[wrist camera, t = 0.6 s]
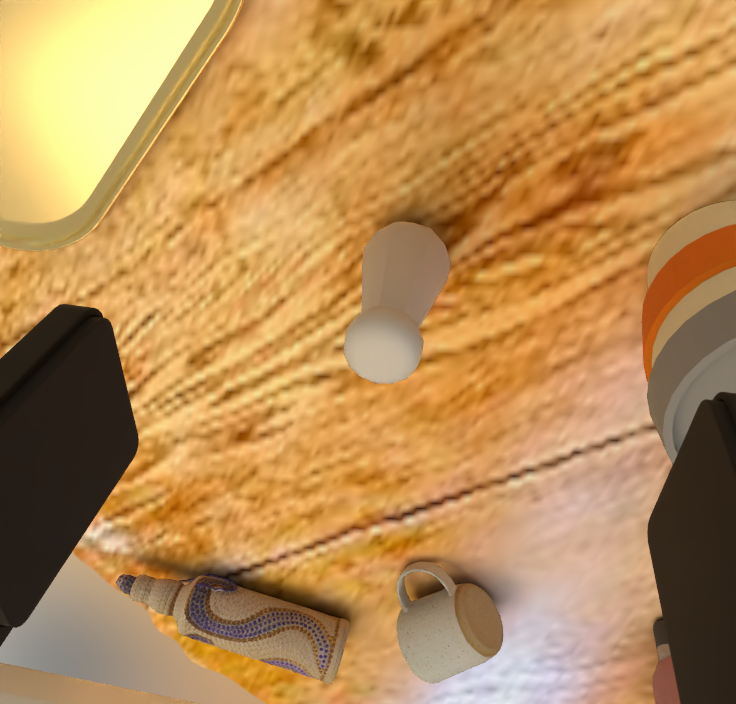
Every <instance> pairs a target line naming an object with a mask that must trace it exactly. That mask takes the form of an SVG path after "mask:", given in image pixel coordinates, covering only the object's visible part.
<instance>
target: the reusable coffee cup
mask: <svg viewBox="0 0 736 704" xmlns="http://www.w3.org/2000/svg"><path fill="white" fill-rule="evenodd" d="M647 286H648V291H647V294H646V298H645V301H644V304H643V313H642V335H643V361H644V368H645V373H646V379H647V381H648V393H647V399H648V405H649V410H650V415H651V417H652V420H653V422H654V424H655V427H656V429H657V431H658V433H659V436H660V438H661V440H662V443H663V445H664V447H665V449H666V452H667V454H668V456H669V458H670V460H671V462H672V464H674V461H675V459H676V457H677V454H678V452H679V450H680V448H681V445H682V443H683V441H684V438H685V436H686V434H687V432H688V429H689V427H690V425H691V422H692V420H693V418H694V416H695V413H696V411H697V409H698V406H699V405H700V403H701V402H702V401H703V400H705V399H708V400H713V399H714V397H715V396H716V395H717V394H718V393H719V392H729V393H736V200H734V201H723V202H719V203H715V204H711V205H707V206H705V207H703V208H700V209H698V210H695V211H693V212H691V213H690V214H688V215H686V216H685V217H683V218H681V219H680V220H679V221H677V222H676V223H675V224H674V225H673V226H671V227H670V228H669V229H668V230H667V231H666V232H665V234H664V235H663V236H662V237H661V238H660V240H659V241H658V242H657V244H656V246H655V248H654V250H653V251H652V254H651V257H650V260H649V263H648V270H647Z"/></svg>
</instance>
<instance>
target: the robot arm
mask: <svg viewBox="0 0 736 704" xmlns="http://www.w3.org/2000/svg"><path fill="white" fill-rule="evenodd" d="M138 441H139V439H138V433H137V429H136V424H135V420H134V416H133V412H132V408H131V403H130V399H129V395H128V391H127V387H126V382H125V378H124V374H123V370H122V366H121V361H120V357H119V353H118V349H117V345H116V341H115V336H114V332H113V328H112V325H111V322H110V321H109V320H108V319H106V318H103V316H102V313H101V312H100V311H99V310H98V309H95V308H90V307H83V306H75V305H68V304H62V305H59V306H57V307H56V308H54V309H53V310H52V311H51V312H50V313H49V314H48V315H47V316H46V317H45V318H44V319H43V320H42V321H41V322H39V323H38V324H37V325H36V326H35V327H34V328H33V329H32V330H31V331H30V332H29V333H28V334H27V335H26V336H24V337H23V338H22V339H21V340H20V341H19V342H18V343H17V344H16V345H15V346H14V347H13V348H12V349H11V350H9V351H8V352H7V353H6V354H5V355H4V356H3V357H2V358H1V359H0V646H1V645H2V643H3V642H4V640H5V639H6V637H7V636H8V634H9V633H10V631H11V630H12V628H13V627H15V628H17V627H19V626H21V625H22V624H23V623H24V622H25V621H26V620H27V619H28V617H29V616H30V615H31V613H32V612H33V610H34V609H35V607H36V606H37V604H38V603H39V601H40V599H41V598H42V597H43V595H44V594H45V592H46V590H47V589H48V587H49V586H50V584H51V583H52V581H53V580H54V578H55V577H56V575H57V574H58V572H59V571H60V569H61V568H62V566H63V565H64V563H65V562H66V560H67V559H68V557H69V556H70V554H71V553H72V551H73V549H74V548H75V546H76V545H77V543H78V542H79V540H80V539H81V537H82V536H83V534H84V533H85V531H86V530H87V528H88V527H89V525H90V524H91V522H92V521H93V519H94V518H95V516H96V515H97V513H98V512H99V510H100V508H101V507H102V505H103V504H104V502H105V501H106V499H107V498H108V496H109V495H110V493H111V492H112V490H113V489H114V487H115V486H116V484H117V483H118V481H119V480H120V478H121V477H122V475H123V474H124V472H125V471H126V469H127V467H128V466H129V464H130V463H131V461H132V460H133V458H134V456H135V455H136V452H137V448H138ZM648 544H649V549H650V554H651V559H652V564H653V569H654V574H655V579H656V584H657V589H658V594H659V599H660V604H661V609H662V614H663V619H664V624H665V629H666V634H667V639H668V644H669V649H670V654H671V659H672V664H673V669H674V674H675V679H676V684H677V689H678V694H679V699H680V704H736V393H729V392H719V393H718V394H717V395H716V396H715V397H714V399H713V400H708V399H705V400H703V401H702V402H701V403H700V405H699V406H698V409H697V411H696V413H695V416H694V418H693V420H692V422H691V425H690V427H689V429H688V432H687V434H686V436H685V438H684V441H683V443H682V445H681V448H680V450H679V452H678V454H677V457H676V459H675V461H674V464H673V466H672V468H671V470H670V473H669V475H668V477H667V480H666V482H665V484H664V486H663V489H662V491H661V493H660V496H659V498H658V500H657V502H656V505H655V507H654V509H653V512H652V514H651V516H650V519H649V523H648ZM0 704H198V703H193V702H188V701H184V700H179V699H175V698H170V697H164V696H160V695H155V694H150V693H145V692H141V691H135V690H131V689H126V688H121V687H116V686H111V685H107V684H102V683H97V682H92V681H87V680H82V679H77V678H72V677H68V676H63V675H58V674H53V673H48V672H43V671H38V670H33V669H28V668H24V667H18V666H14V665H9V664H4V663H0Z"/></svg>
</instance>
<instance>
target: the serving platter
mask: <svg viewBox="0 0 736 704" xmlns="http://www.w3.org/2000/svg"><path fill="white" fill-rule="evenodd" d="M243 3H244V0H0V246H3V247H7V248H12V249H17V250H25V251H47V250H54V249H59V248H63V247H66V246H69V245H71V244H74V243H76V242H78V241H80V240H81V239H83V238H84V237H86V236H87V235H89V234H90V233H91V232H92V231H93V230H94V229H95V228H96V227H97V226H98V225H99V224H100V222H101V221H102V220H103V219H104V217H105V216H106V214H107V213H108V211H109V210H110V208H111V207H112V205H113V204H114V202H115V201H116V199H117V198H118V196H119V195H120V193H121V192H122V190H123V189H124V187H125V186H126V184H127V183H128V182H129V180H130V179H131V177H132V176H133V174H134V173H135V171H136V170H137V168H138V167H139V165H140V164H141V162H142V161H143V159H144V158H145V156H146V155H147V153H148V152H149V150H150V149H151V147H152V146H153V144H154V143H155V141H156V140H157V138H158V137H159V135H160V134H161V133H162V131H163V130H164V128H165V127H166V125H167V124H168V122H169V121H170V119H171V118H172V116H173V115H174V113H175V112H176V110H177V109H178V107H179V106H180V104H181V103H182V101H183V100H184V98H185V97H186V95H187V94H188V92H189V91H190V89H191V88H192V86H193V85H194V84H195V82H196V81H197V79H198V78H199V76H200V75H201V73H202V72H203V70H204V69H205V67H206V66H207V64H208V63H209V61H210V60H211V58H212V57H213V55H214V54H215V52H216V51H217V49H218V48H219V46H220V45H221V43H222V42H223V40H224V39H225V37H226V36H227V35H228V33H229V31H230V30H231V28H232V26H233V24H234V23H235V21H236V19H237V17H238V14H239V12H240V10H241V8H242V5H243Z"/></svg>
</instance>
